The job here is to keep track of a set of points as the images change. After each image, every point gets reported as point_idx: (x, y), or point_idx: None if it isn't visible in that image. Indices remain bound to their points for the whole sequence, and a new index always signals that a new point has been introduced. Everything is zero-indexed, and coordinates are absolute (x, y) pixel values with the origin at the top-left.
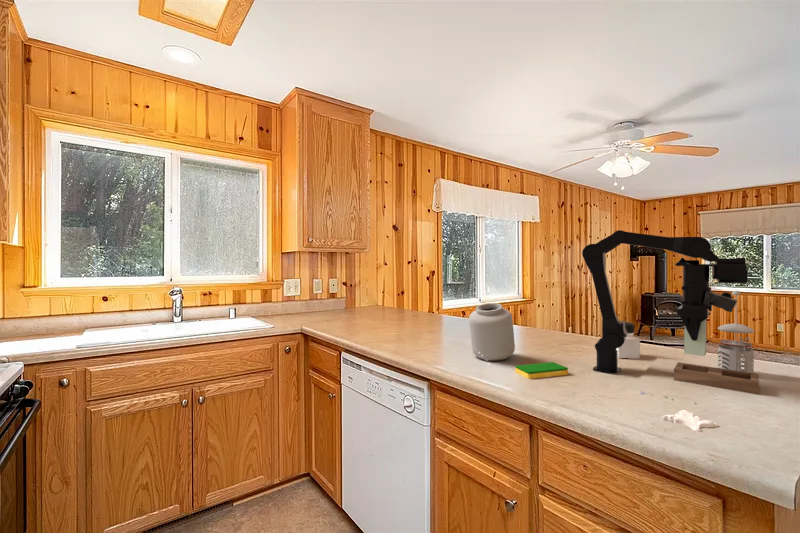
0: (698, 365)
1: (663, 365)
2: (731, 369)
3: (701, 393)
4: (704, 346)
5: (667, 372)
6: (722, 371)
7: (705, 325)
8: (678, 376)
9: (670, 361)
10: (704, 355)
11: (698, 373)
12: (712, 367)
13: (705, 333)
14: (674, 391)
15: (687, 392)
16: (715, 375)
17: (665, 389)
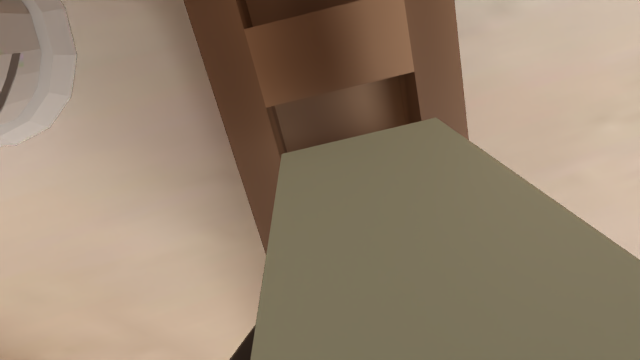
0: (249, 175)
1: (133, 342)
2: (9, 39)
3: (526, 47)
4: (475, 146)
5: (256, 282)
6: (243, 29)
7: (549, 336)
8: None
9: (10, 354)
10: (437, 121)
11: (464, 106)
12: (222, 99)
13: (440, 232)
14: (585, 142)
15: (559, 98)
16: (450, 12)
17: (580, 178)
